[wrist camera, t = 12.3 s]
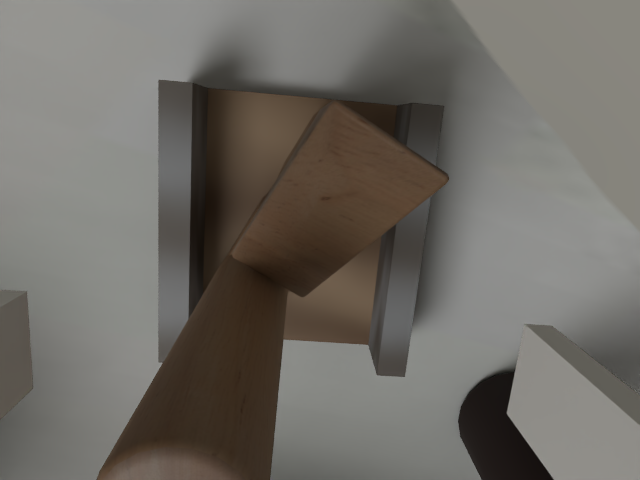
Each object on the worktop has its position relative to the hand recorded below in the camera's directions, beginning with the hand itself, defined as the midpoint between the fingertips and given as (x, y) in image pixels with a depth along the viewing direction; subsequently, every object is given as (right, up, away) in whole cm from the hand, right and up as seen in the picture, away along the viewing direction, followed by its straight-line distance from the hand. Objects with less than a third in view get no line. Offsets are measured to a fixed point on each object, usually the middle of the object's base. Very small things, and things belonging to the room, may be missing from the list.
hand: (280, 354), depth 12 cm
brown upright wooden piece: (0, +5, +14) cm, 15 cm away
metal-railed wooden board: (0, +4, +15) cm, 15 cm away
